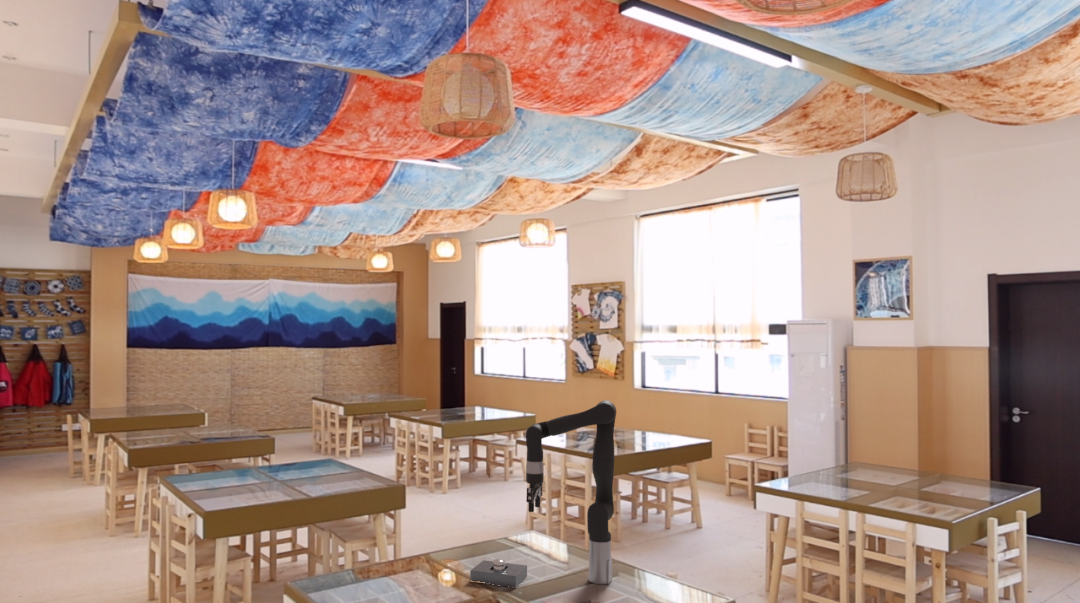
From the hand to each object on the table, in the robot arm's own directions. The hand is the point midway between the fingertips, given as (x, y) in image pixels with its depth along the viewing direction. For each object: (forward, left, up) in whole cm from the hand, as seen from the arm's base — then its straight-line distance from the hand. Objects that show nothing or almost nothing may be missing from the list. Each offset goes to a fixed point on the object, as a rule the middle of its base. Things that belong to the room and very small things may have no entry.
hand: (534, 509), depth 320 cm
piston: (+12, +10, -28) cm, 32 cm away
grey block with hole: (+12, +10, -28) cm, 32 cm away
